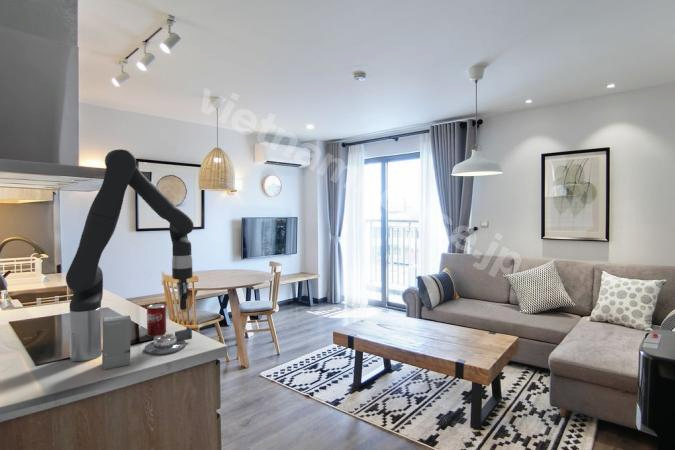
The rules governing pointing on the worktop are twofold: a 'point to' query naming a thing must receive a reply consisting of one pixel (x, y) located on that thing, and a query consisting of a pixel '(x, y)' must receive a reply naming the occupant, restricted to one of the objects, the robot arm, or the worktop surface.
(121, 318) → the skincare box
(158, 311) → the soda can
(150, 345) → the cap plate
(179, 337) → the small handled pan
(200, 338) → the worktop surface
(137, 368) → the worktop surface
